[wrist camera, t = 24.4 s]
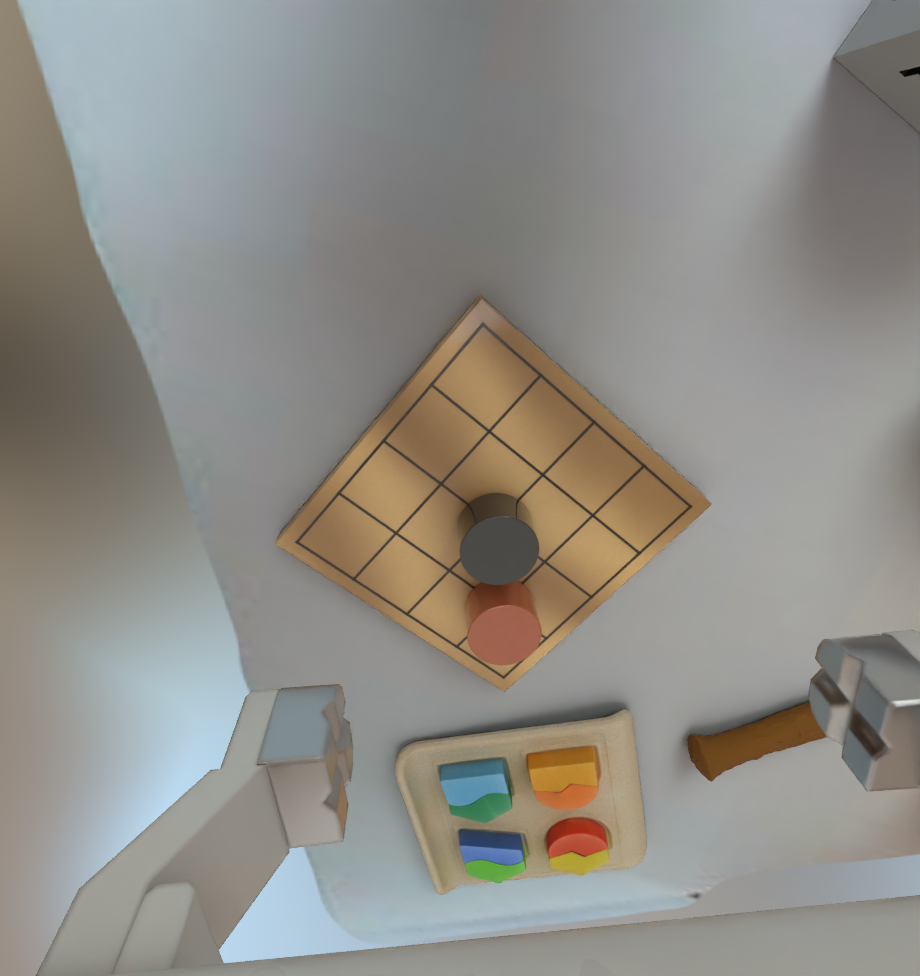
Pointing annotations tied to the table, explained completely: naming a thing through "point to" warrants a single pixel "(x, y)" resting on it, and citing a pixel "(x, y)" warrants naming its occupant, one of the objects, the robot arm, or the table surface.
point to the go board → (490, 469)
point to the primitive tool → (753, 740)
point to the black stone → (497, 539)
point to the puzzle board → (526, 801)
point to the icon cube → (888, 55)
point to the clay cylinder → (502, 623)
